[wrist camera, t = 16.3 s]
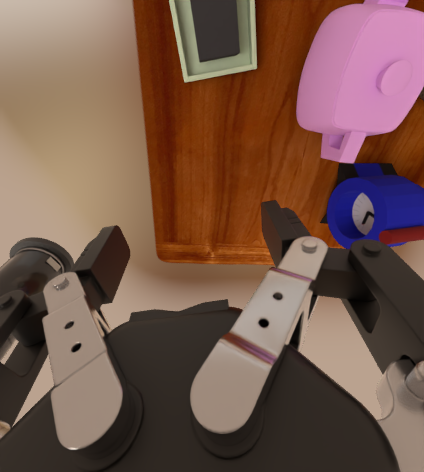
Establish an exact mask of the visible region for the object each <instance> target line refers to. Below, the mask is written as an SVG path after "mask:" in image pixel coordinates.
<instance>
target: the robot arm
mask: <svg viewBox="0 0 424 472" xmlns="http://www.w3.org/2000/svg"><path fill="white" fill-rule="evenodd" d="M261 216H262V232H263V236H264V239H265V242H266V244H267V246H268V249H269V251H270V254H271V256H272V259H273V261H274V264H275V266H276V268H275V267H271V268H270V269H269V270H268V272H267V274H266V275H265V277H264V278H263V280H262V282H261V283H260V285H259V286H258V288H257V289H256V291H255V292H254V294H253V296H252V297H251V299H250V300H249V302H248V303H247V305H246V307H245V308H244V310H242V309H239V308H235V307H229V305H228V300H227V299H226V300H219V301H212V302H205V303H201V304H198V305H196V306H193V307H190V308H188V309H185V310H182V311H165V310H147V311H140V312H133V313H131V316H130V320H129V321H128V322H126V323H123V324H121V325H120V326H118V327H116V328H115V329H113V330H112V329H111V327H110V325H109V323H108V321H107V319H106V317H105V315H104V313H103V312H102V310H101V309H100V307H101V305H102V304H107V303H112V301H113V299H114V296H115V294H116V291H117V289H118V286H119V284H120V281H121V279H122V276H123V273H124V271H125V268H126V266H127V263H128V261H129V258H130V249H129V246H128V244H127V242H126V240H125V238H124V235H123V234H122V231H121V229H120V228H119V226H117V225H116V226H110V227H104V228H102V230H101V231H100V233H99V234H98V236H97V237H96V238H95V239H93V240H92V241H91V242H90V243H89V244H88V245H87V246H86V248H85V249H84V251H83V252H82V254H81V256H80V257H79V258H78V260H77V261H76V262H75V264H74V265H73V267H72V268H71V270H70V271H69V272H67V273H64V272H65V265H64V263H63V261H62V260H61V259H60V258H59V257H58V256H57V255H56V254H54V253H53V252H51V251H49V250H47V249H44V248H41V247H34V246H30V247H25V248H22V249H20V250H19V251H18V252H17V253H16V254H15V255H14V256H12V257H11V258H10V259H9V260H8V261H7V262H6V263H5V264H3V266H1V267H0V361H1V360H2V359H3V358H4V356H5V355H6V354H7V352H8V351H9V349H10V348H11V346H12V345H13V344H14V342H15V341H16V340H18V341H19V343H18V344H17V346H16V347H15V349H14V350H13V352H12V354H11V355H10V357H9V359H8V360H7V361H6V363H5V365H4V364H2V363H1V362H0V472H424V280H423V279H422V278H421V277H420V276H418V274H416V272H414V271H413V270H412V269H411V268H410V267H409V266H408V265H407V264H406V263H405V262H404V261H403V260H402V259H401V258H400V257H399V256H398V255H397V254H396V253H395V252H394V251H393V250H392V249H391V248H390V247H389V246H388V245H386V244H384V243H382V242H379V241H376V240H371V239H361V240H357V241H354V242H353V243H352V244H351V247H350V249H339V248H330V247H328V246H327V244H326V243H325V242H324V241H323V240H321V239H319V238H316V237H312V236H311V235H310V233H309V232H308V230H307V229H306V228H305V226H304V225H303V223H301V221H300V219H299V218H298V216H297V215H296V214H295V212H294V211H292V210H290V209H289V208H280V206H279V204H278V203H277V201H276V200H274V201H267V202H262V203H261ZM319 296H327V297H334V298H340V299H341V300H342V302H343V304H344V306H345V307H346V309H347V311H348V313H349V315H350V316H351V318H352V320H353V322H354V324H355V325H356V327H357V329H358V331H359V333H360V334H361V336H362V338H363V340H364V341H365V343H366V345H367V347H368V349H369V351H370V352H371V354H372V356H373V357H374V359H375V361H376V363H377V365H378V367H379V368H380V370H381V372H382V374H383V376H382V377H381V379H380V381H379V383H378V385H377V388H376V393H377V398H378V401H379V404H380V406H381V410H382V419H380V420H376V419H375V418H374V417H373V415H372V414H371V413H370V412H369V411H368V410H367V409H366V408H365V407H364V406H363V405H362V404H361V403H360V402H359V401H358V400H357V399H356V398H354V397H353V396H352V395H351V394H350V393H348V392H347V391H346V390H345V389H344V388H342V387H341V386H340V385H339V384H337V383H336V382H335V381H334V380H333V379H331V378H330V377H329V376H328V375H327V374H325V373H324V372H323V371H322V370H321V369H319V368H318V367H317V366H316V365H315V364H313V363H312V362H311V361H310V360H308V359H307V358H306V357H305V356H304V355H302V354H301V353H300V351H301V348H302V346H303V342H304V339H305V335H306V331H307V328H308V325H309V322H310V320H311V317H312V313H313V312H314V309H315V306H316V304H317V301H318V298H319ZM48 354H49V359H50V364H51V370H52V375H53V380H54V387H53V388H52V389H51V390H50V391H49V392H47V393H46V395H44V396H43V397H42V398H41V399H40V400H39V401H38V402H37V403H36V404H35V405H34V406H33V407H32V408H31V409H30V410H29V411H28V412H27V413H26V414H25V415H24V416H23V417H22V418H21V419H20V420H19V421H18V422H17V423H16V424H15V425H14V426H13V424H14V422H15V420H16V418H17V416H18V414H19V412H20V410H21V408H22V406H23V404H24V402H25V400H26V398H27V396H28V394H29V392H30V390H31V388H32V386H33V384H34V382H35V380H36V378H37V376H38V374H39V372H40V370H41V368H42V365H43V364H44V362H45V360H46V358H47V355H48ZM12 426H13V427H12Z"/></svg>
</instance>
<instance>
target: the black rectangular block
mask: <svg viewBox="0 0 424 472" xmlns="http://www.w3.org/2000/svg"><path fill="white" fill-rule="evenodd" d="M190 4H191V10H192V17H193V23H194V30H195V37H196V43H197V50H198V56H199V62H200V63H201V62H206V61H211V60H216V59H221V58H226V57H231V56H236V55H237V54H239V53H240V45H239V30H238V15H237V0H190Z"/></svg>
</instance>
